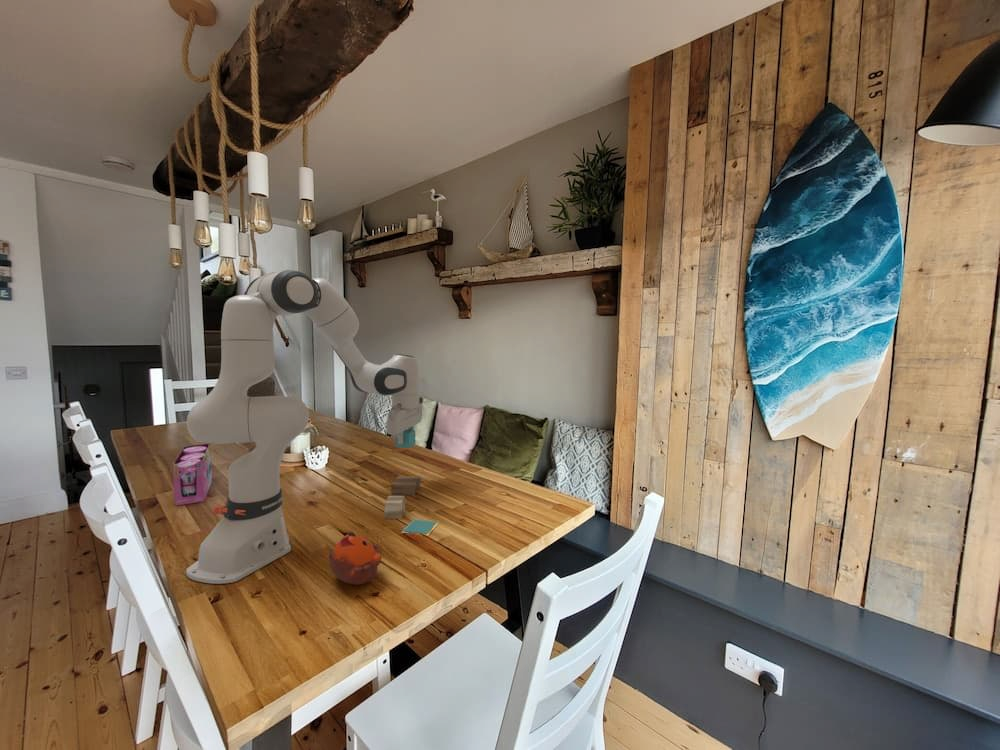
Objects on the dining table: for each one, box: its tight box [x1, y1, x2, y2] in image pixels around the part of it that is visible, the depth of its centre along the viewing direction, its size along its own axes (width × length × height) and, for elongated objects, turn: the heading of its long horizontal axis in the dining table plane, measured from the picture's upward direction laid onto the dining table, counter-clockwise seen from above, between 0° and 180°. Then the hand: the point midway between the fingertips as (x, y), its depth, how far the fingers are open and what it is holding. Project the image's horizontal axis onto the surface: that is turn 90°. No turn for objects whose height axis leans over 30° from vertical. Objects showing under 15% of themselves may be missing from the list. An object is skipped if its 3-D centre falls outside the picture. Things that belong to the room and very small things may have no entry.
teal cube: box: [395, 429, 416, 449], centre depth 142 cm, size 5×5×5 cm
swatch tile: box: [401, 518, 438, 534], centre depth 117 cm, size 8×8×1 cm
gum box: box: [172, 443, 213, 506], centre depth 138 cm, size 24×8×14 cm, turn 30°
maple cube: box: [384, 495, 406, 519], centre depth 125 cm, size 5×5×5 cm
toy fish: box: [328, 532, 383, 586], centre depth 92 cm, size 12×10×11 cm
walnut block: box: [390, 475, 421, 496], centre depth 143 cm, size 8×8×4 cm
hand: (405, 440), depth 142 cm, fingers closed on teal cube, 5 cm apart
